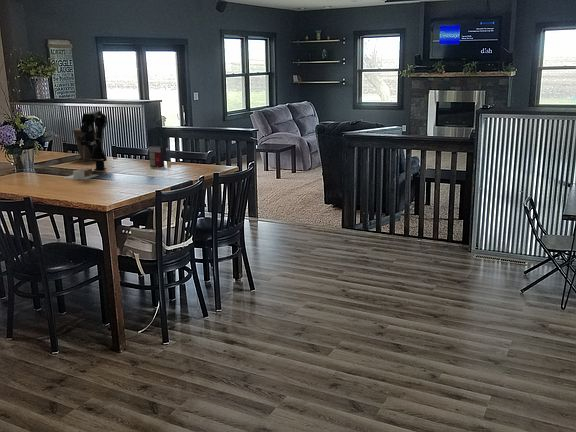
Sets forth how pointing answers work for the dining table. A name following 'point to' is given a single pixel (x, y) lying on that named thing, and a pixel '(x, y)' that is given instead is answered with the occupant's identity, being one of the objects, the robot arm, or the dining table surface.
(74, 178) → the mat
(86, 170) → the walnut block
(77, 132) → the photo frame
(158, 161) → the red and grey box
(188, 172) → the dining table surface
